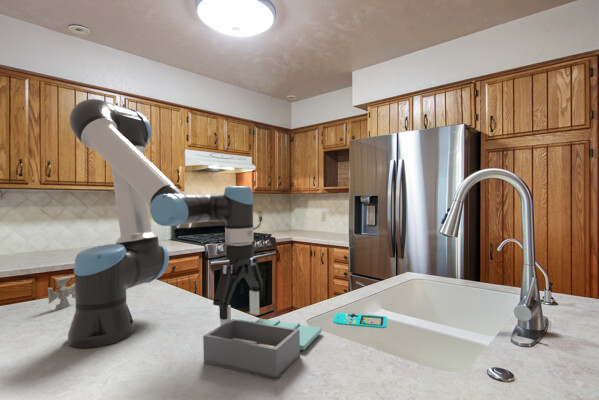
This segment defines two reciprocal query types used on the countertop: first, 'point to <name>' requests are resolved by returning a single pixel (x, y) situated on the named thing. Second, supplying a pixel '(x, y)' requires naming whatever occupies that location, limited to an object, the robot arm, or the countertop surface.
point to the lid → (305, 331)
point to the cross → (62, 293)
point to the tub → (252, 348)
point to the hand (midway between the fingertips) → (241, 322)
